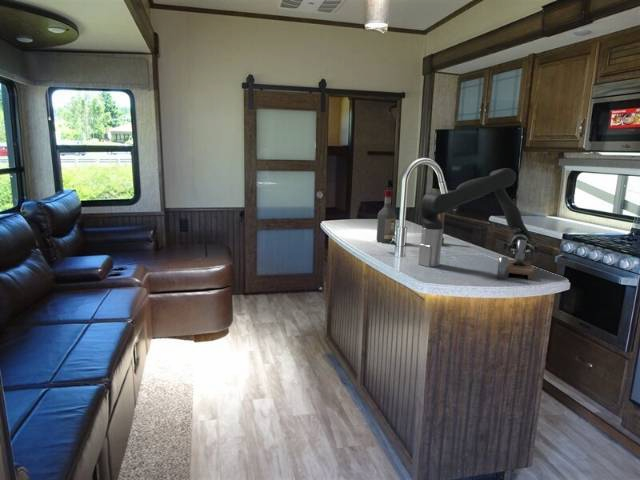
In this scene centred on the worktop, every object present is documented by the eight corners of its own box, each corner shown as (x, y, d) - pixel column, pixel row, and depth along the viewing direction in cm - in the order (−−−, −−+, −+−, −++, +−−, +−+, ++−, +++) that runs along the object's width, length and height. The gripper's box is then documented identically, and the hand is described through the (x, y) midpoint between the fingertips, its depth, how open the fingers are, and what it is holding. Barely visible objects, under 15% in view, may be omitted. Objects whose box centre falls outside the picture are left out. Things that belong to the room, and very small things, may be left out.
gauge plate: (531, 280, 187) (532, 270, 186) (505, 276, 191) (506, 267, 190) (529, 270, 203) (530, 261, 202) (505, 267, 207) (506, 259, 206)
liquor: (374, 241, 261) (377, 190, 255) (384, 239, 267) (387, 189, 261) (386, 244, 254) (389, 191, 249) (396, 242, 260) (399, 190, 255)
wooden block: (424, 243, 259) (426, 212, 256) (439, 242, 263) (442, 212, 260) (428, 244, 256) (430, 213, 253) (443, 244, 260) (446, 213, 257)
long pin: (519, 275, 195) (524, 241, 192) (511, 273, 197) (515, 239, 194) (523, 273, 197) (528, 240, 194) (515, 272, 200) (519, 239, 197)
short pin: (503, 280, 185) (505, 259, 183) (495, 278, 188) (497, 257, 186) (507, 279, 187) (509, 258, 186) (499, 277, 190) (501, 256, 188)
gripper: (504, 234, 210) (504, 239, 195) (538, 237, 204) (540, 243, 190) (502, 249, 211) (502, 256, 196) (536, 253, 206) (537, 260, 191)
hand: (520, 250), depth 193 cm, fingers open, 8 cm apart
